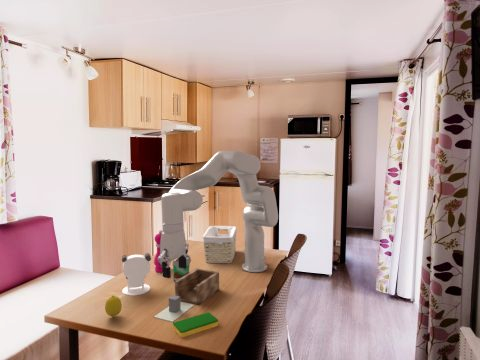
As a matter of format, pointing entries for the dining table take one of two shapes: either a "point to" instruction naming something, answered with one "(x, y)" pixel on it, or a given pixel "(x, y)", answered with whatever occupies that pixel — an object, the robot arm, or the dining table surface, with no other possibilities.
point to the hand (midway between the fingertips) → (175, 272)
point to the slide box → (197, 286)
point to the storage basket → (219, 244)
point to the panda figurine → (136, 273)
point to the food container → (180, 271)
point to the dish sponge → (195, 324)
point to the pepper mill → (158, 252)
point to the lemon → (113, 306)
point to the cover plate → (173, 315)
